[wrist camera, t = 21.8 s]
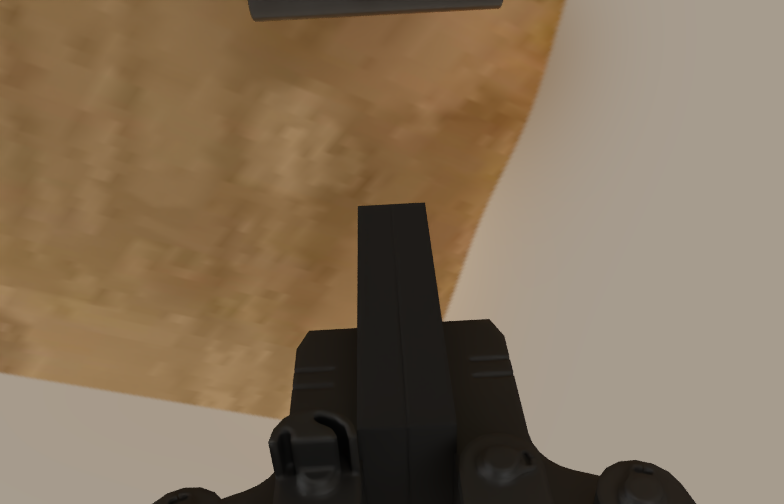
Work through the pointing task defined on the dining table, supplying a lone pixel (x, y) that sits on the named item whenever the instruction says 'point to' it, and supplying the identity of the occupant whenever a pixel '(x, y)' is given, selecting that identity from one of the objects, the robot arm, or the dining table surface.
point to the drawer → (357, 8)
